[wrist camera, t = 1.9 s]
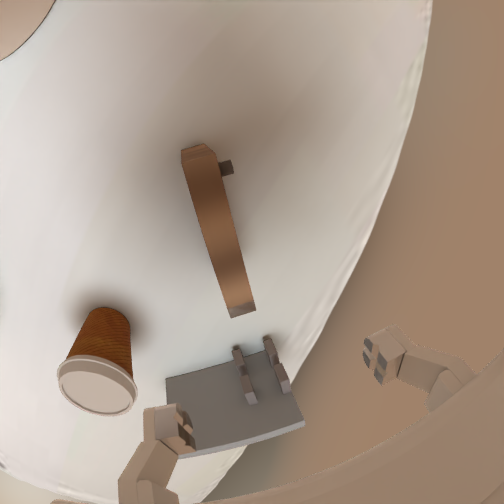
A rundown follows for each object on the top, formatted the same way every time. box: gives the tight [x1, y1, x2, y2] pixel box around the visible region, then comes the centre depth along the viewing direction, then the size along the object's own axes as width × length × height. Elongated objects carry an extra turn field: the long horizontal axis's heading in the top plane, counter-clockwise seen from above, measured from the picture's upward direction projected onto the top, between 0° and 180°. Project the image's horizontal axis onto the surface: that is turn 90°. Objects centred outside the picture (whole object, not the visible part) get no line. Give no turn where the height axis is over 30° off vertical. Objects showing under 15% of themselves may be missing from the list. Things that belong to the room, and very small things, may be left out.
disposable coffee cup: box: [57, 308, 138, 416], centre depth 28 cm, size 10×10×12 cm
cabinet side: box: [166, 339, 305, 459], centre depth 35 cm, size 5×18×14 cm, turn 102°
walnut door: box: [181, 144, 256, 318], centre depth 26 cm, size 14×4×10 cm, turn 12°
